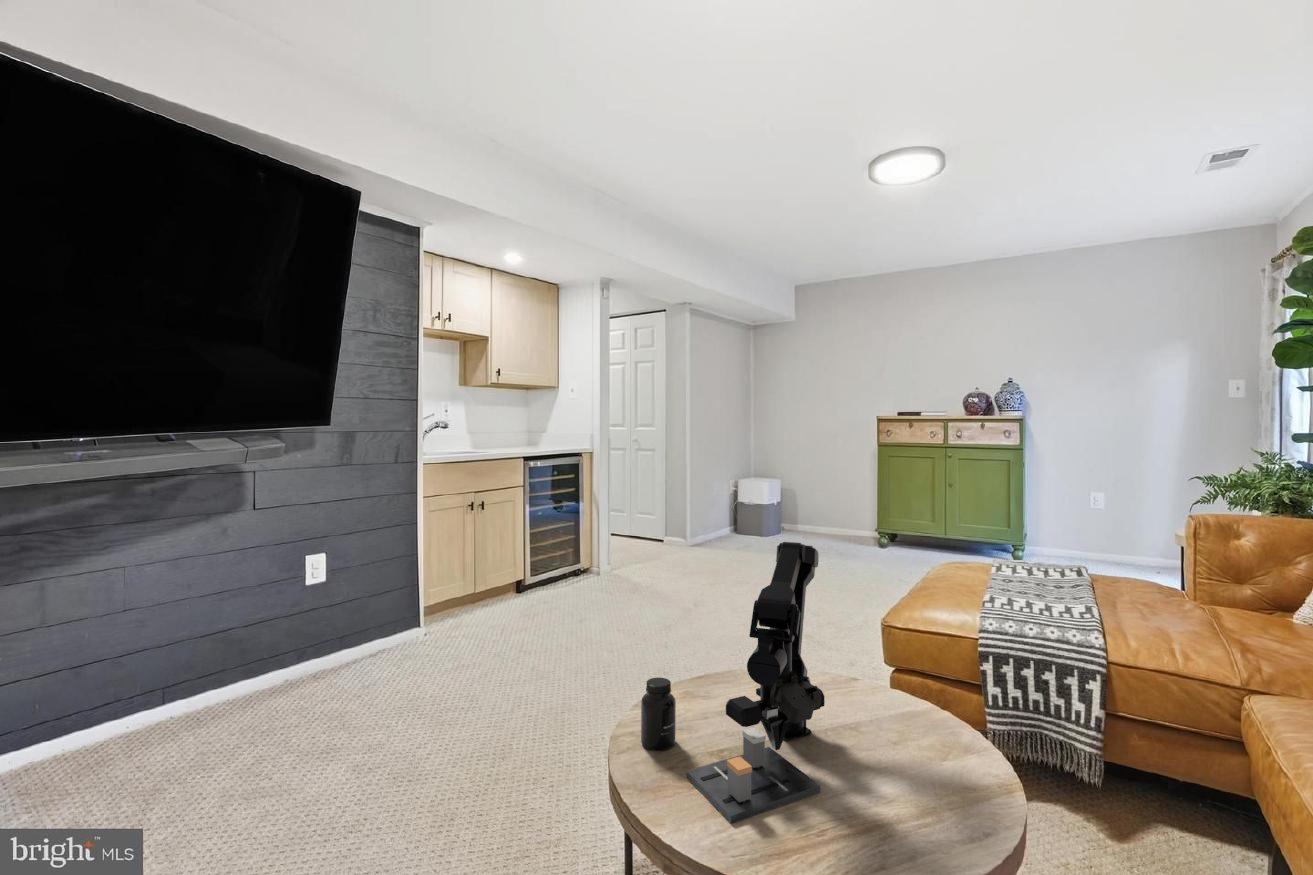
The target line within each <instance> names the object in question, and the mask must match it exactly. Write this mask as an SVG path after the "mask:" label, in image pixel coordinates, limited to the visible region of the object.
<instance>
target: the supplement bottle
mask: <svg viewBox="0 0 1313 875" xmlns="http://www.w3.org/2000/svg"><path fill="white" fill-rule="evenodd" d="M671 684H672V683H671V680H669V679H668V678H665V677H652V678H649V679H648V680H646V688H645V692H646V693H645V694H644V695H643V696H642V697H641V701H640V702H641V704H640V709H641V710H640V741H641V744H642V745H643V747H644V748H645V749H648V750H651V751H666V750H668V749H671V748H672V747H674V745H675V743H676V719H677V718H676V717H677V716H676V713H677V712H676V708H677V705H676V704H677V703H676V702H677V701H676V698H675V696H674V695H673V694H672V693H671V692H672V687H671V686H672V685H671Z"/></svg>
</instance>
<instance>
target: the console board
mask: <svg viewBox="0 0 1313 875" xmlns="http://www.w3.org/2000/svg"><path fill="white" fill-rule="evenodd" d="M739 756H740V757H741V758H743V754H740V755H736V756H733V757H732V756H731V757H729V758H726V759H723V760H719V761H716V762H713V763H712V762H711V763H709V764H706V765H702V766H699V767H696V768H693V769H692V768H691V769H689V770H686V779H687V780H688V781H689V782H690V783H691V784H692V785H693V786H694V787H695V788H696V789H697V791H699V792H700V794H702V796H703V797H704V798H706V799H707V801H708V802H709V803H710V804H711V805H712V806H713V807H714V808H716V810H717V811H718V812H719V813H720V814H721V815H722V816H723V818H725V820H727V821H728V822H729V824H731V825H732V824H735V823H737V822H741V821H743V820H745V819H746V820H747V819H748V818H750V817H754V816H757V815H760V814H763V813H766V812H769V811H771V810H774V809H776V808H779V807H782V806H785V805H788V804H792V803H793V802H796V801H799V800H802V799H805V798H808V797H811V796H814V795H817V794H820V793H821V785H820V783H818V782H816V781H815V780H814V779H813V778H812V777H810V776H809V775H807V774H806V773H805V772H803V771H802V770H801V769H800V768H798V767H797V766H795V765H794V764H793V763H791V762H790V761H789V760H787V759H786V758H785V757H783V756H782V755H781V754H780V753H778V752H777V751H776V750H775V749H773V748H771V747H770V746H767V747H766V746H765V765H762V766H759V767H756V768H753V767H752V772H751V798H750V799H747V800H745V801H742V802H738V801H737V800H736V799H735V798H734V797H733V796H732V795H731V794H730V793H729V792H728V766H727V760H729V759H733V758H736V757H739Z"/></svg>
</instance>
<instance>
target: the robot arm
mask: <svg viewBox="0 0 1313 875" xmlns="http://www.w3.org/2000/svg"><path fill="white" fill-rule="evenodd" d="M775 563H776V564H775V568H774V571H773V574H772V578H771V581H770V583H769V584H768V585H767V586H765V587H764V588H762V589H761V590H760V593H759V595H758V598H757V599H756V600H755V601H754V602H753V608H752V609H753V610H752V616H751V622H750V629H749V634H748V636H749V638H753V639H757V646H756V648H755V649H754V651H753V652H752V654H751V655H750V656H749V658H748V659H747V663H746V669H747V673H748V676H749V677H750V679H751V680H752V681H753V682H755V683H756V684H757V685H760V686H759V687H758V688H755V692H756V693H755V694H756V695H757V696H758V697H760V699H758V700H756V701H753V700H752V699H751V698H749V697H747V696H746V695H742V696H739V697H733V698H729V699H728V700H727V702H726V704H725V715H726V716H727V717H729V718H730V719H731V720H733V721H734V722H735V723H737V724H739V726H741V727H744V728H748V727H749V728H750V727H752V726H756V725H759V723H760V722H761V724H762V726H763V729H764V730H765V733H766V735H767V737H768V741H769V742H770V744H771V747H772V749H773V750H774V751H779V750H780V749H781V747H782V745H783V741H784V740H785V741H791V740H794V739H798V738H802V737H804V736H808V735H811V734H812V732H813V731H812V730H811V729H810V728H808V727H807V721H810V720H812V718H813V714H814V711H817V710H820V709H821V708H822V707H825V704H826V703H825V702H826V701H825V694H824V692H823V691H822V689H821V688H819V687H818V686H817V685H813V684H812V683H811V679H810V676H808V668H807V667H806V665H805V662H804V660H803V658H802V646H803V645H802V644H803V643H802V642H803V631H804V618H805V608H806V607H805V605H806V594H807V593H806V592H807V586H808V585H809V584H810V582H812V580H813V579H814V578H815V574H816V568H818V566H819V552H818V550H817V549H816V548H815V547H813V545H806V544H803V543H801V542H793V541H792V542H791V541H783V542H780V543H779V545H777V546H776V559H775ZM758 625H759V627H758ZM762 627H764V628H762Z"/></svg>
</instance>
